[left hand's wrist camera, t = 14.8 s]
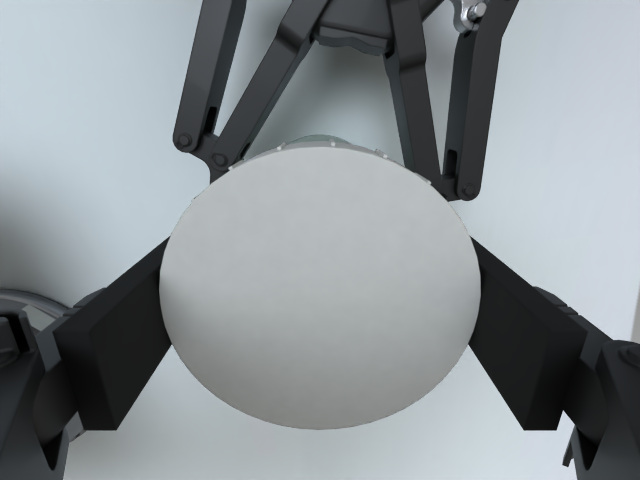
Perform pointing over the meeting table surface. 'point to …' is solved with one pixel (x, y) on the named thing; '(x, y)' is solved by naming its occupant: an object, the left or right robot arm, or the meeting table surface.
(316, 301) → the lid
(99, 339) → the left robot arm
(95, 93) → the meeting table surface
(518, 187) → the meeting table surface
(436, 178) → the right robot arm
